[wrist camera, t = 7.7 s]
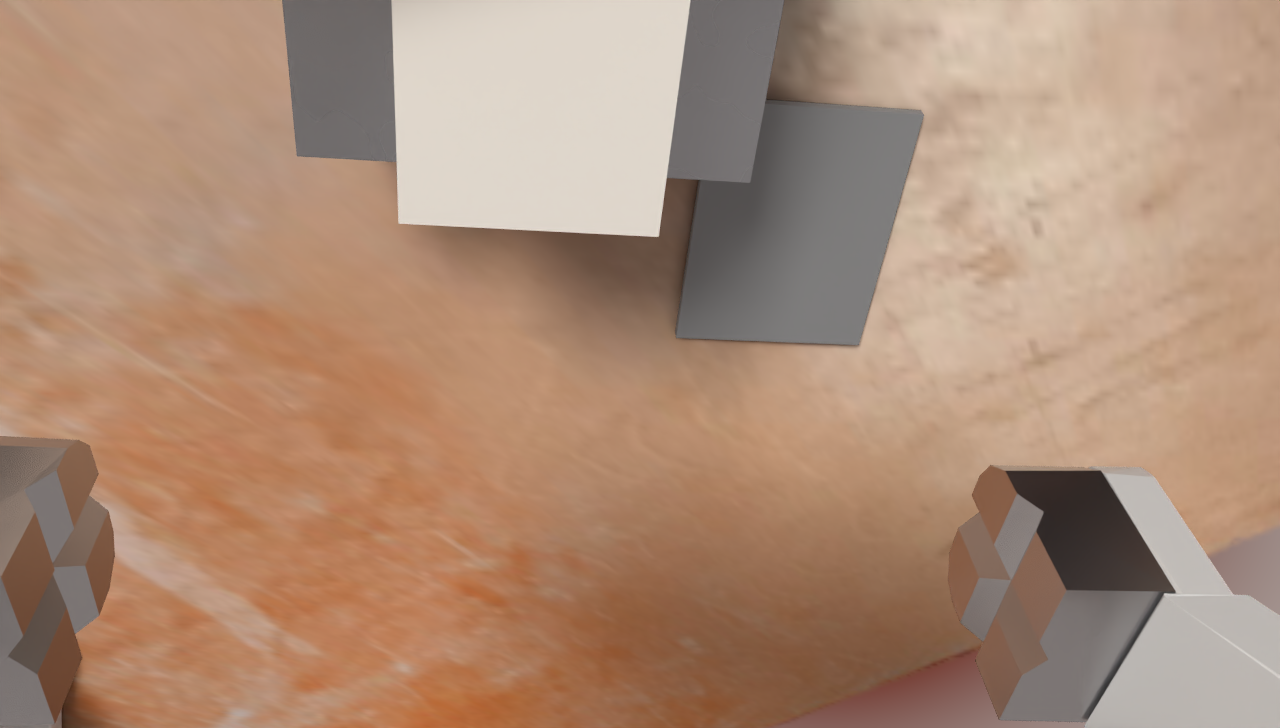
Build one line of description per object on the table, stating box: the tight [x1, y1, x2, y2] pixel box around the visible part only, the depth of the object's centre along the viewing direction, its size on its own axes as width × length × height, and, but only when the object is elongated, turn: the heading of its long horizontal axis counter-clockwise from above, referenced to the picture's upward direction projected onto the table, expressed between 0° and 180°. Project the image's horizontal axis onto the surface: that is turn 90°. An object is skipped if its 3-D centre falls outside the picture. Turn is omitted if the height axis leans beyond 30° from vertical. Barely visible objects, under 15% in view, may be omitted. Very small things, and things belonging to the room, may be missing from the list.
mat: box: [675, 100, 924, 345], centre depth 32 cm, size 8×6×1 cm
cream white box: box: [391, 0, 691, 237], centre depth 20 cm, size 7×5×4 cm
